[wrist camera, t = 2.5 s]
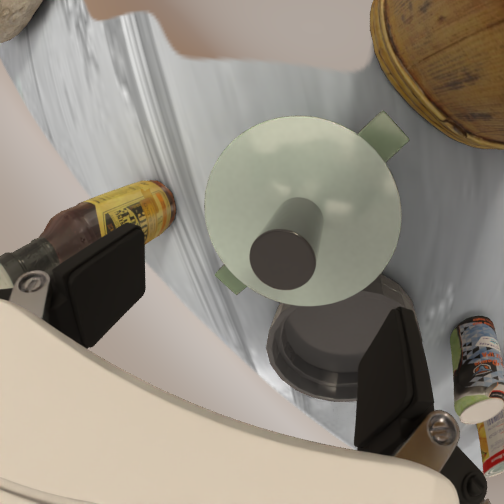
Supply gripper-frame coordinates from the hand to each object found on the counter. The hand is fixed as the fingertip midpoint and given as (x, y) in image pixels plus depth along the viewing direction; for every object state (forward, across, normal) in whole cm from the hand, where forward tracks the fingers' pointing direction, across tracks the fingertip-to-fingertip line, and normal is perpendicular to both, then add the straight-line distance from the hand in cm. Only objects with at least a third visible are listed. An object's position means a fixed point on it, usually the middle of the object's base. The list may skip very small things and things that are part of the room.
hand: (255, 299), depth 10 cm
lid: (+9, 0, 0) cm, 9 cm away
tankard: (+18, -14, -17) cm, 28 cm away
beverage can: (+18, -24, +10) cm, 31 cm away
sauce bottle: (+18, +16, +6) cm, 25 cm away
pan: (+18, -9, +14) cm, 24 cm away
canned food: (+17, -45, +25) cm, 54 cm away
